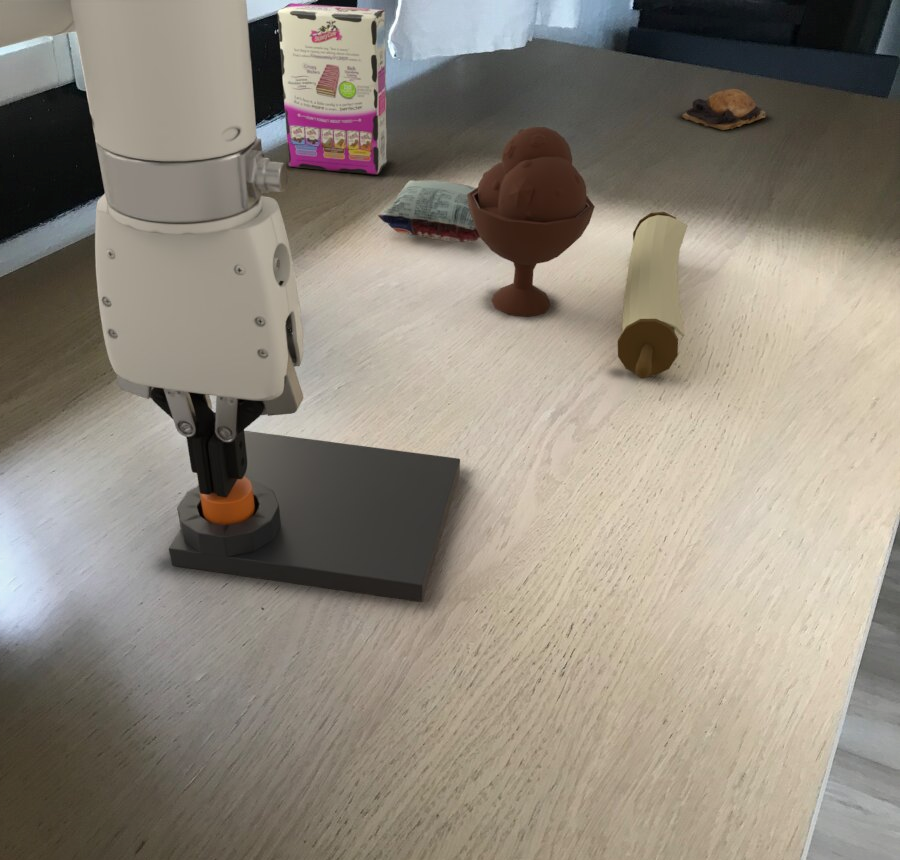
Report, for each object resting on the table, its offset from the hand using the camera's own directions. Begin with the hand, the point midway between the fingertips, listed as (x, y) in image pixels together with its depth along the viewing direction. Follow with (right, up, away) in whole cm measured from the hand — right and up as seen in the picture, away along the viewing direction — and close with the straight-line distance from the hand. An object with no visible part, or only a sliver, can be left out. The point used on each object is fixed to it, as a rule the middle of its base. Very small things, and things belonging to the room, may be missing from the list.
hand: (221, 482), depth 60 cm
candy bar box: (+1, +45, +58) cm, 73 cm away
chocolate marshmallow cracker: (+53, +61, +79) cm, 113 cm away
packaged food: (+13, +32, +43) cm, 55 cm away
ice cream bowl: (+21, +20, +31) cm, 43 cm away
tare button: (0, -2, +1) cm, 2 cm away
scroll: (+33, +19, +31) cm, 49 cm away
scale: (+6, -2, +5) cm, 8 cm away
